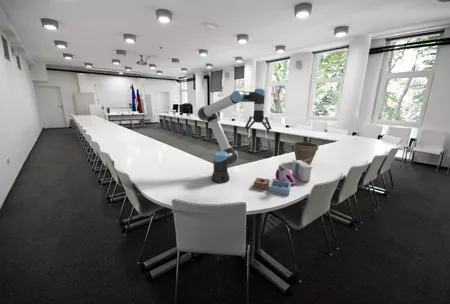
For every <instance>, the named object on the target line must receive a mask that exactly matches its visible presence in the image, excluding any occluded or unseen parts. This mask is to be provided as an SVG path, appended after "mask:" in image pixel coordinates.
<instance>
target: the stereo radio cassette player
mask: <svg viewBox="0 0 450 304" xmlns="http://www.w3.org/2000/svg"><path fill="white" fill-rule="evenodd" d="M308 160H309V159H308ZM305 161H307V160H305ZM291 164H292V165H291V174H292V175H294V176H295V177H297V178H298V179H299V180H301V182H309V181H311V171H312V169H313V166H312V165H311V164H310V165H308V164H307V163H305V162H304V161H302V160H296V159H294V160H292V163H291Z"/></svg>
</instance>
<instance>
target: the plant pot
mask: <svg viewBox="0 0 450 304" xmlns="http://www.w3.org/2000/svg"><path fill="white" fill-rule="evenodd" d="M319 146H320V145H319V144H317V143H314V142H309V141H308V142H307V141H295V142H293V146H292V148H293V149H294V150H293V151H294V156H295V157H294V158H295V160H302V161H304V162H305V163H307V164H308V165H310V166H311V164H312V162H313V160H314V158H315V155H316V153H317V151H318V150H319ZM308 159H309V160H308ZM305 160H307V161H305Z"/></svg>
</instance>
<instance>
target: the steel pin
mask: <svg viewBox="0 0 450 304" xmlns="http://www.w3.org/2000/svg"><path fill="white" fill-rule="evenodd" d="M285 168H286V165H281V164H280V165H278V168H277V169H279V180H278V187H280V188H282V186H283V175H284V169H285Z"/></svg>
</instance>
